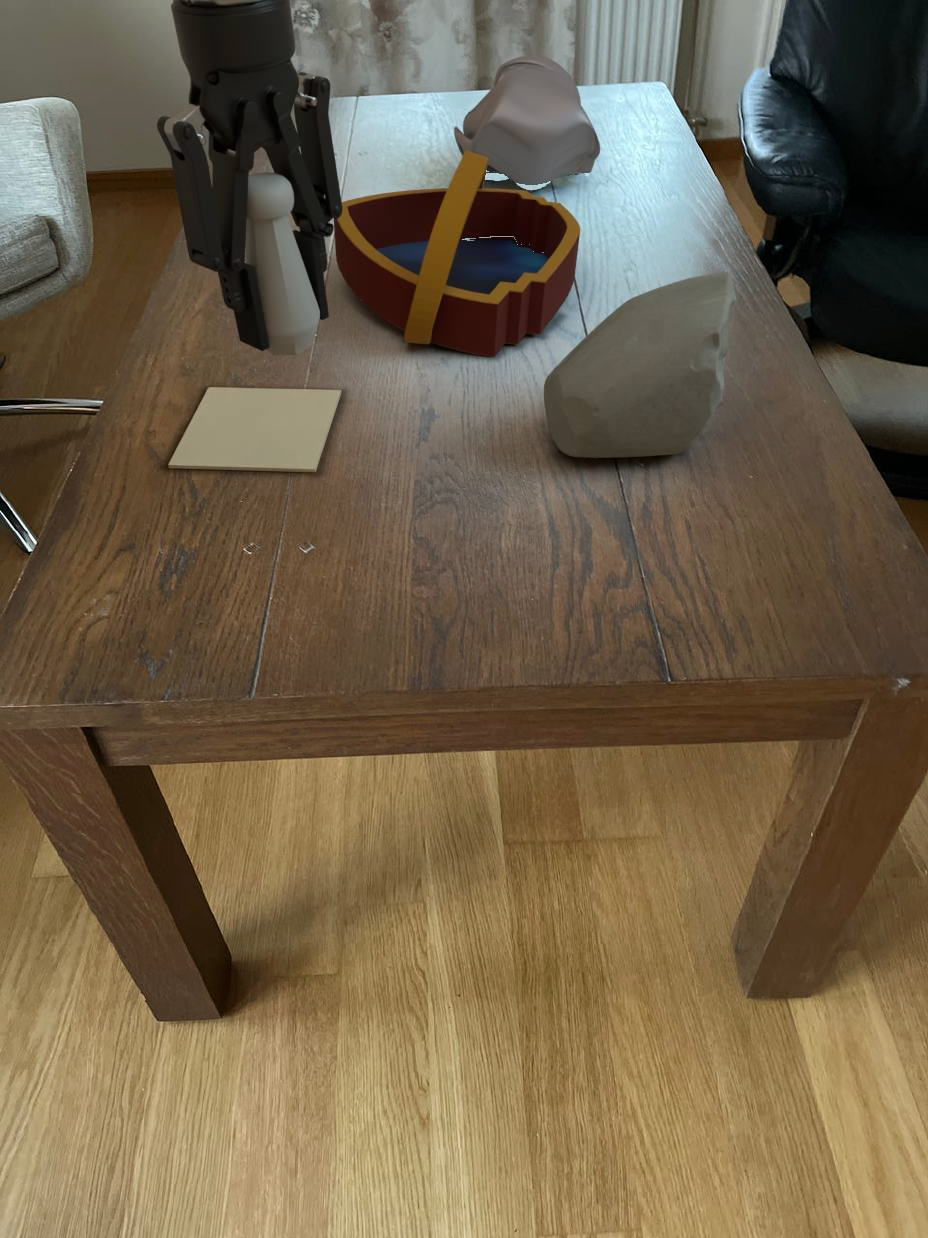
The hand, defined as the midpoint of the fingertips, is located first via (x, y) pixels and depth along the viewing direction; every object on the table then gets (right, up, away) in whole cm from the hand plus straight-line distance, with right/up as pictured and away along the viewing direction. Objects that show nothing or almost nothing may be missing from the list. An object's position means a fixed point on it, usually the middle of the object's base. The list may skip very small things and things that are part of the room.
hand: (285, 328), depth 77 cm
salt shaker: (0, -1, +1) cm, 2 cm away
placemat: (-6, -5, +17) cm, 19 cm away
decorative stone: (+31, -6, +15) cm, 35 cm away
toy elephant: (+23, +41, +63) cm, 78 cm away
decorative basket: (+13, +16, +38) cm, 43 cm away
